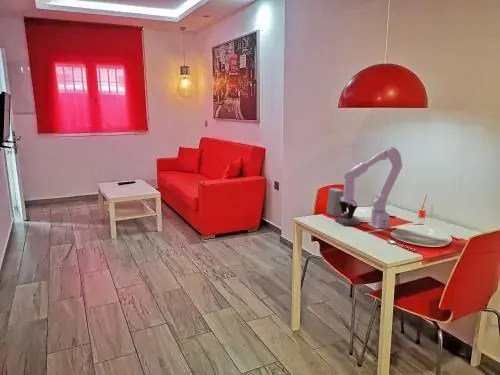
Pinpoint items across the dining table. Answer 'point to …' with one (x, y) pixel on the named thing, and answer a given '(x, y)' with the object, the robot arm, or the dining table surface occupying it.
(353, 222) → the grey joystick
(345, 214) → the cap
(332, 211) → the skincare box
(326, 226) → the dining table surface
